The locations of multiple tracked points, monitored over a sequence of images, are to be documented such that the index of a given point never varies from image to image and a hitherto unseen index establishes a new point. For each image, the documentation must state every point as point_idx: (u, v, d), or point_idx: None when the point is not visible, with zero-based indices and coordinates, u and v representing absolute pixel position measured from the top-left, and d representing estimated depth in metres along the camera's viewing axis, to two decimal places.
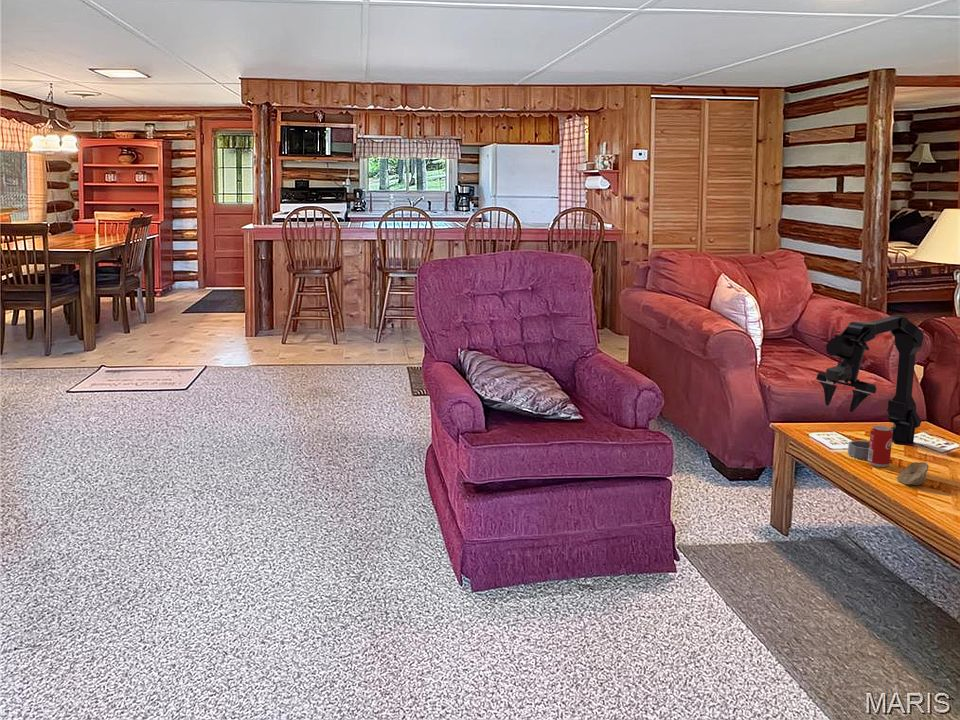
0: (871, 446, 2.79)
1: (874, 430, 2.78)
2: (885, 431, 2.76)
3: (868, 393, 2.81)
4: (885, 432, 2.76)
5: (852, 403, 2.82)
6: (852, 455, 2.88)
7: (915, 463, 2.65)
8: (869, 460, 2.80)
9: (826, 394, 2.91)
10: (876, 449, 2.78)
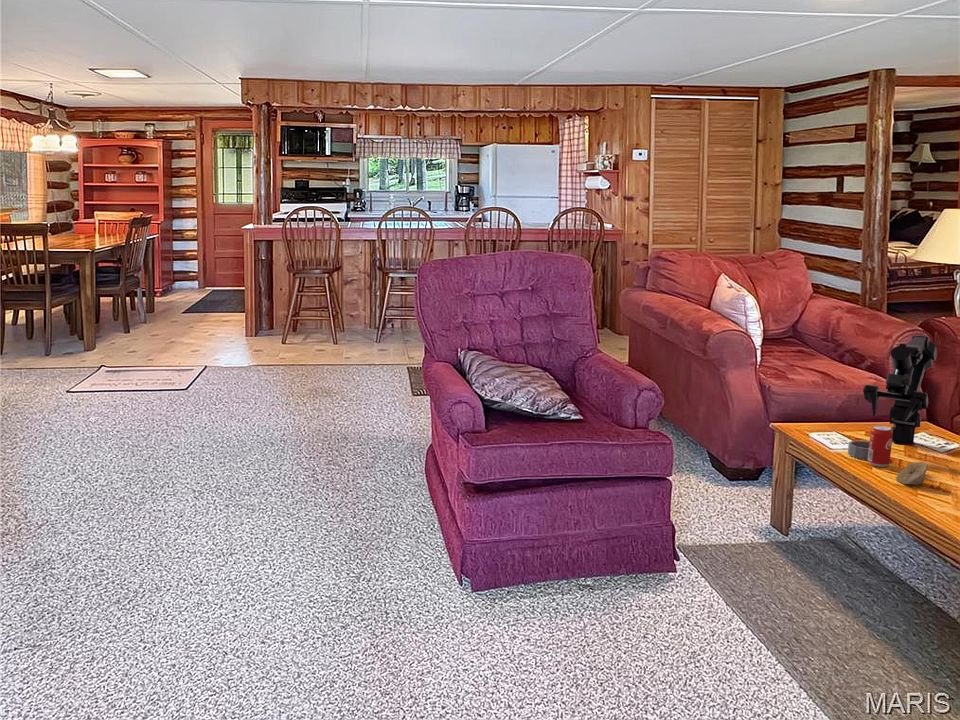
0: (871, 446, 2.79)
1: (874, 430, 2.78)
2: (885, 431, 2.76)
3: (921, 406, 2.84)
4: (885, 432, 2.76)
5: (908, 412, 2.82)
6: (852, 455, 2.88)
7: (914, 463, 2.65)
8: (869, 460, 2.80)
9: (874, 404, 2.88)
10: (875, 449, 2.78)
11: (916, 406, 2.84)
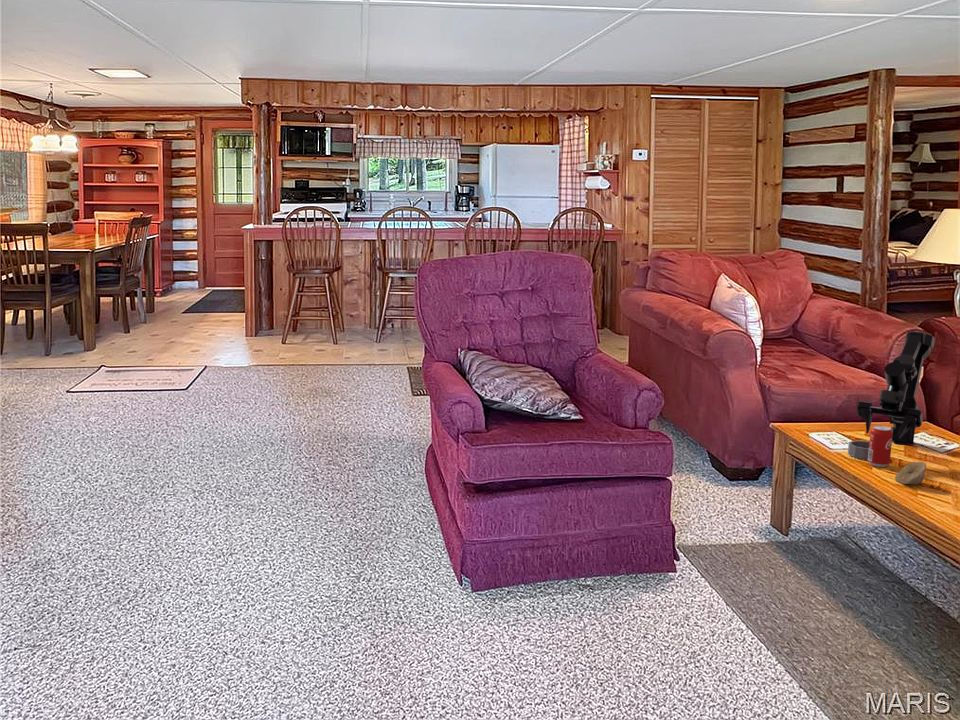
0: (871, 446, 2.79)
1: (874, 430, 2.78)
2: (885, 431, 2.76)
3: (915, 423, 2.80)
4: (885, 432, 2.76)
5: (902, 429, 2.78)
6: (852, 455, 2.88)
7: (913, 463, 2.65)
8: (869, 460, 2.80)
9: (868, 421, 2.84)
10: (875, 449, 2.78)
11: (910, 423, 2.80)
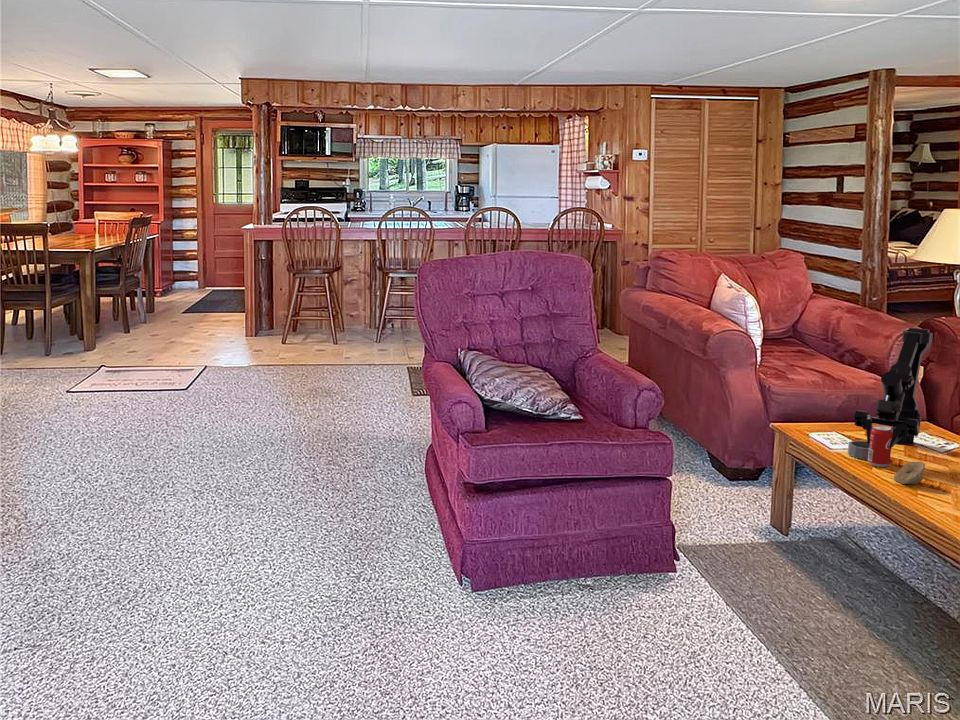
0: (871, 446, 2.79)
1: (874, 430, 2.78)
2: (885, 431, 2.76)
3: (908, 432, 2.78)
4: (885, 432, 2.76)
5: (894, 438, 2.77)
6: (852, 455, 2.88)
7: (912, 462, 2.66)
8: (869, 460, 2.80)
9: (869, 432, 2.81)
10: (875, 449, 2.78)
11: (902, 432, 2.79)
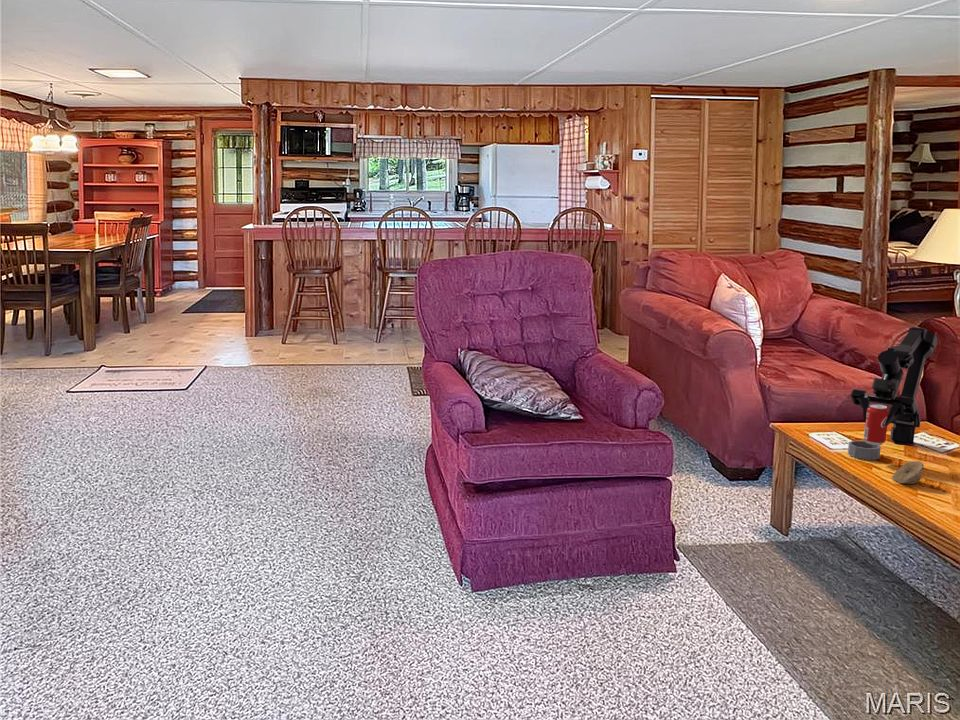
0: (867, 424, 2.81)
1: (870, 408, 2.80)
2: (880, 409, 2.78)
3: (904, 411, 2.80)
4: (880, 410, 2.78)
5: (889, 416, 2.79)
6: (852, 455, 2.88)
7: (910, 462, 2.66)
8: (865, 438, 2.83)
9: (865, 410, 2.84)
10: (871, 427, 2.80)
11: (899, 411, 2.80)
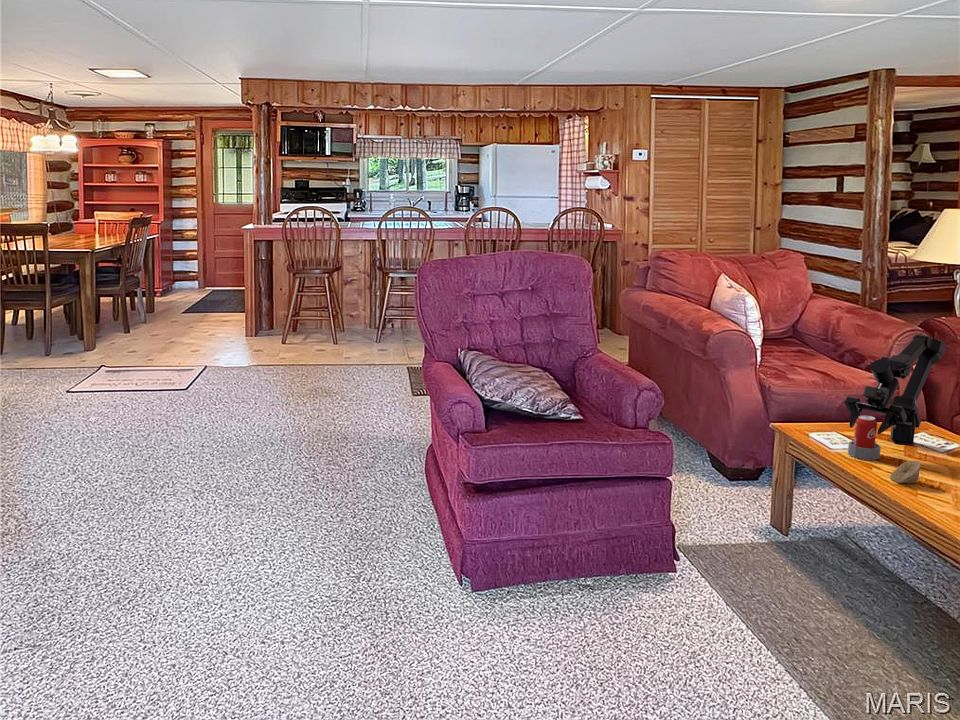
0: (855, 435, 2.88)
1: (858, 419, 2.87)
2: (868, 421, 2.85)
3: (898, 420, 2.84)
4: (867, 421, 2.85)
5: (882, 425, 2.84)
6: (852, 455, 2.88)
7: (908, 462, 2.66)
8: None
9: (852, 416, 2.91)
10: (858, 437, 2.87)
11: (893, 420, 2.85)
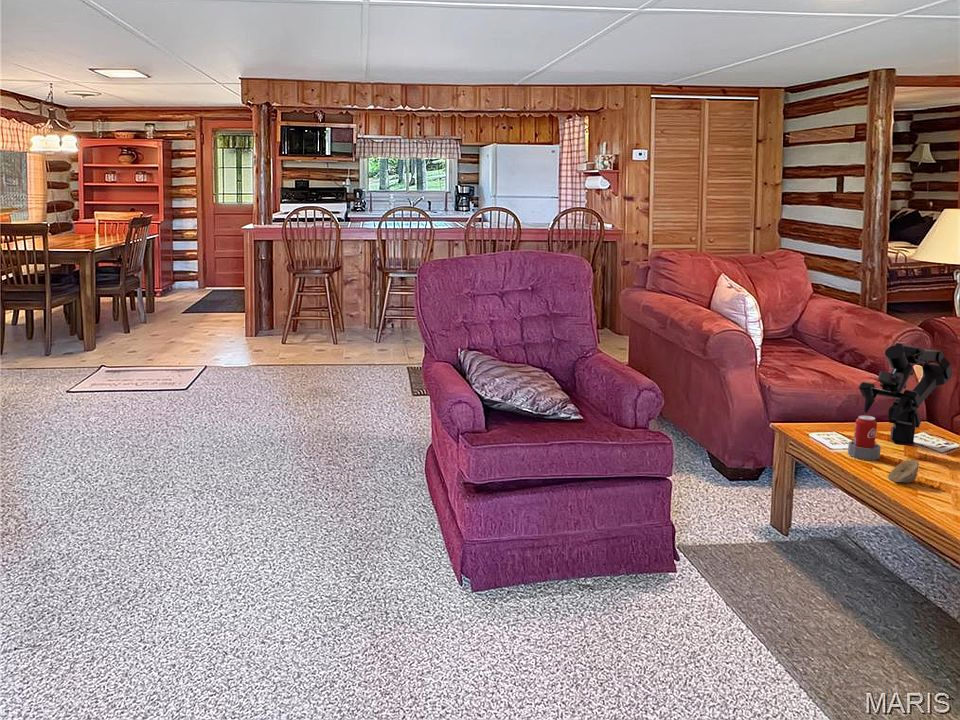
0: (855, 435, 2.88)
1: (858, 419, 2.88)
2: (867, 420, 2.85)
3: (913, 405, 2.89)
4: (867, 421, 2.85)
5: (897, 409, 2.89)
6: (852, 455, 2.88)
7: (906, 461, 2.67)
8: None
9: (867, 401, 2.96)
10: (858, 437, 2.87)
11: (907, 404, 2.90)
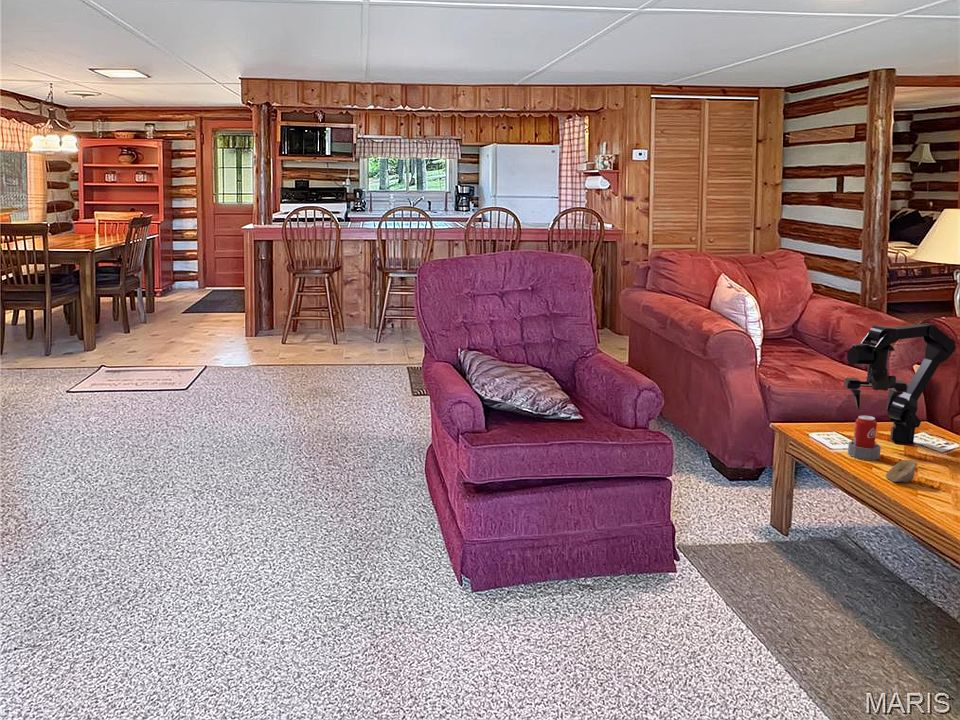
0: (854, 435, 2.89)
1: (858, 419, 2.88)
2: (867, 420, 2.85)
3: None
4: (867, 421, 2.85)
5: (890, 403, 2.99)
6: (852, 455, 2.88)
7: (904, 461, 2.67)
8: None
9: (858, 399, 3.00)
10: (858, 437, 2.87)
11: None
